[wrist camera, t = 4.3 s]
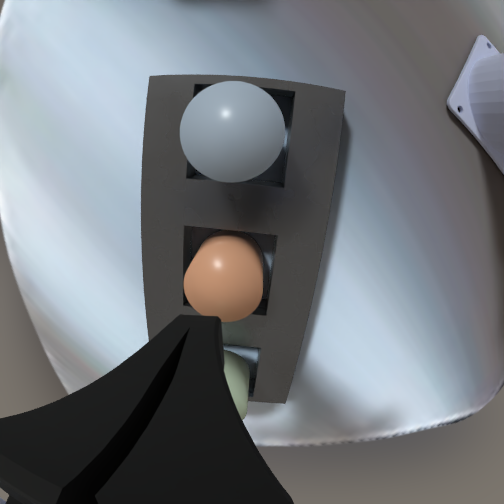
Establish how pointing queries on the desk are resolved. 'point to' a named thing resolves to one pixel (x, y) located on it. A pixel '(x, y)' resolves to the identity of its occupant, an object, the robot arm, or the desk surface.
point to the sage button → (237, 380)
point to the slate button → (232, 131)
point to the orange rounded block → (226, 276)
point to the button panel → (241, 218)
